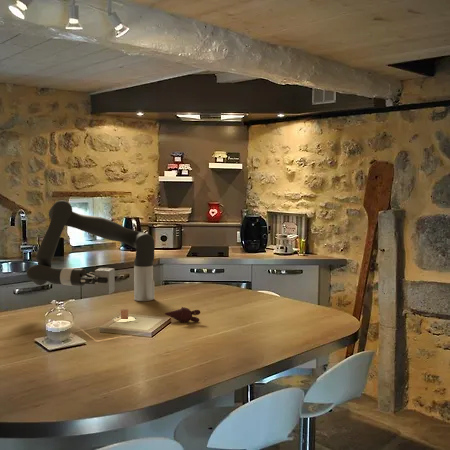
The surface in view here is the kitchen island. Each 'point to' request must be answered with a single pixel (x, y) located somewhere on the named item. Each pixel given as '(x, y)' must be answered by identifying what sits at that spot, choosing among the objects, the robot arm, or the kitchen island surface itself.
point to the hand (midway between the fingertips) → (110, 278)
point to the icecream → (184, 315)
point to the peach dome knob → (124, 314)
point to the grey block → (105, 287)
